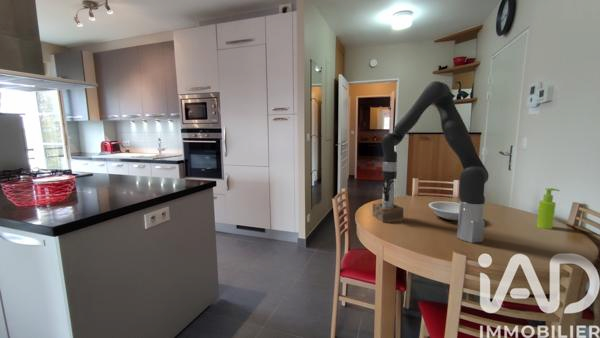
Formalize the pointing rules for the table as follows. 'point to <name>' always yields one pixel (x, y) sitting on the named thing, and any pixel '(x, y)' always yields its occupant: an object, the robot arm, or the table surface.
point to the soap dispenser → (546, 210)
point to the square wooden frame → (387, 213)
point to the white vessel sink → (446, 209)
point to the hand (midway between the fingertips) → (388, 199)
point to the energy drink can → (391, 199)
